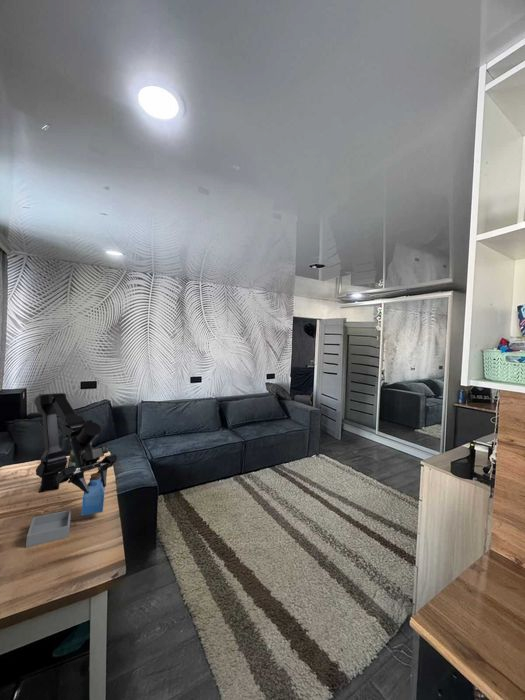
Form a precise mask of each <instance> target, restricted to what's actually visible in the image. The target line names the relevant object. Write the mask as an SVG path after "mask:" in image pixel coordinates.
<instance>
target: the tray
mask: <svg viewBox="0 0 525 700" xmlns="http://www.w3.org/2000/svg"><path fill="white" fill-rule="evenodd" d="M71 517H72V509H68V510H63V511H58V512H52V513H48V514H43V515H38V516H33V517H32V519H31V522H30V526H29V529H28V533H27V535H26V543H25V545H26V546H25V548H26V549H27V548H31V547H34V546H38V545H42V544H47V543H50V542H54V541H58V540H63V539H65V537H67V538H69V536H70V528H71V521H70V520H71V519H72V518H71ZM62 538H63V539H62Z"/></svg>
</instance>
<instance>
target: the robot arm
mask: <svg viewBox="0 0 525 700" xmlns="http://www.w3.org/2000/svg"><path fill="white" fill-rule="evenodd" d="M34 404H35V407H36V411H37V412H38V413H39V414H40V415H41V416H42V428H43V441H44V452H43V453H42V455H41V457H40V463H39V465H38V466H37V467H36V468H35V475H36V476H37V477H38V478H40V479H41V481H40V486H39V488H38V490H37V491H38V493H46V492H49V491H51V492H52V491H57V490H59V489H60V484H64V483H66V482H67V483H68V484H72V485H75V486H76V487H78V489H80V490H81V491H82V492H83V493H84V492H86V493H87V494H88V493H89V489H88V486H87V485H88V483H87V480H86V479H85V472H87V471H91V470H93V469H94V470H95V469H97V472H96V473H101V476H100V477H101V481H102V483H103V486H104V487H105V488H106V487H107V473H108V469H109V468H111V467H113V466H114V465H115V464H116V462H118V461H119V458H118V455H117V454H115V453H113V454H109V455H105V454H108V453H109V447H108V446H107V444H101V445H99V446H98V448H95V447H94V446H93V445H92V446H91V444H90V443H91V442H92V443H93V441H94V440H95V439H96V438H97V437H98V436H99V434H100V433H101V431H102V427H101V425H100V424H98V423H96V422H93V420H92V419H89V420H85V419H84V417H82V416H81V415H79V414H77V413H76V412H75V410H74V409H73V407H72V406H71V404H70V402H69V400H68V399H67V394H66V393H64V392H61V393H60V392H58V393H57V392H56V393H55V392H53V393H42V394H38V395H37V396H36V397H35V398H34ZM58 417H59V419H60V421H61V422H62V425H61V427H60V429H61V433H62V435H63V436H64V437H65V438H70V437H73V436H76V437H74V438H73V439H71V442H70V441H69V444H68V447H69V448H71V447H72V450H73V453H74V456H75V458H74V461H76V462H77V465H78V468H76V467H75V466H71V467H68V458H67V455H66V453H67V452H66V450H65V449H62V448H61V447H60V437H59V429H58V428H59V427H58V425H59V424H58ZM102 457H104V458H103V459H101V458H102ZM100 459H101V460H100ZM99 460H100V461H99Z"/></svg>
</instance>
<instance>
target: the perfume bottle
mask: <svg viewBox="0 0 525 700" xmlns="http://www.w3.org/2000/svg"><path fill="white" fill-rule="evenodd" d="M100 476H101V473H97V472H94V473H91V474H90V478H89V482H88V483H87V486H88V489H89V493H88V494H87V493H86V492H84V491H83V496H82V505H81V516H87V515H92V514H98V513H103V512H104V501H105V494H106V493H105V491H106V486H105V487H104V486H103V483H102V481H101V477H100Z"/></svg>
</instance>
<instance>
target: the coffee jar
mask: <svg viewBox="0 0 525 700" xmlns="http://www.w3.org/2000/svg"><path fill="white" fill-rule="evenodd" d="M74 437H76V436H73V437H69V443H70V442H71V439H73V438H74ZM90 444H91V446H92V447H93V442H91V443H90ZM74 458H75V456H74V453H73V450H72V447H70V452H69V458H68V462H67V467H71V466H75V467H76V468H78V465H77V462H76V461H74Z"/></svg>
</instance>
